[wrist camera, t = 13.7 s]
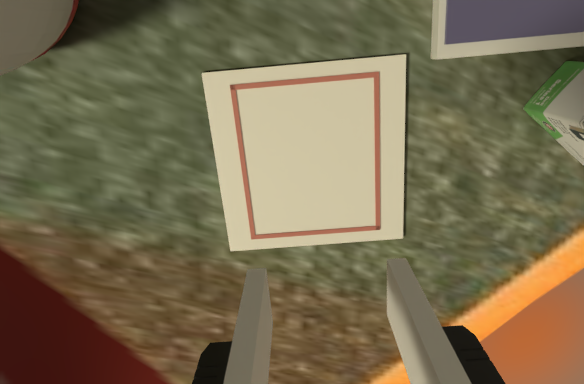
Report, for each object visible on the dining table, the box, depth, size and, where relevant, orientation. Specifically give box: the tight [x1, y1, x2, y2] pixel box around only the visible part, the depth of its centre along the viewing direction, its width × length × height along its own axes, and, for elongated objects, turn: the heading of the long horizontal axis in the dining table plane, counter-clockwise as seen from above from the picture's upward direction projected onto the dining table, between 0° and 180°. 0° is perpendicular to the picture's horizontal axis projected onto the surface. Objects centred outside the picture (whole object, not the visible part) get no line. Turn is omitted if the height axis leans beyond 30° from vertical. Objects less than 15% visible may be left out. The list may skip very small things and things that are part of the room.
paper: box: [202, 54, 406, 251], centre depth 33 cm, size 16×16×1 cm
